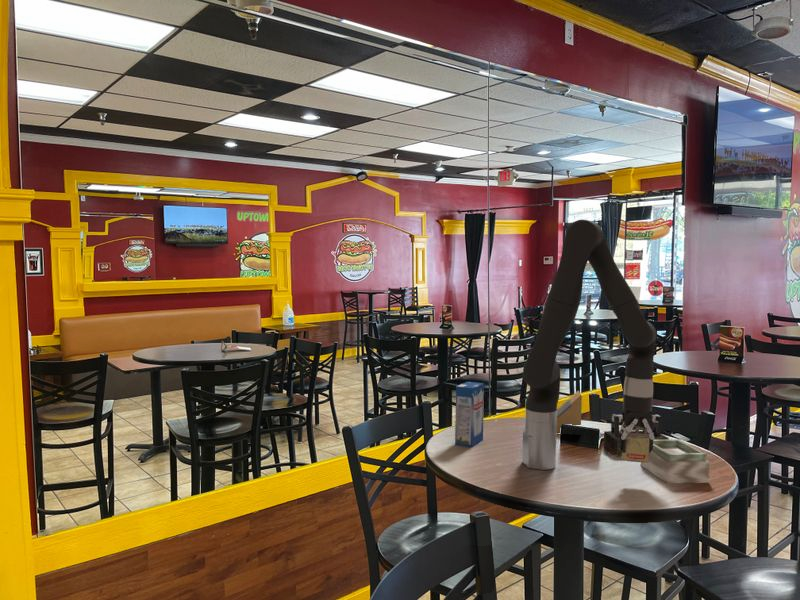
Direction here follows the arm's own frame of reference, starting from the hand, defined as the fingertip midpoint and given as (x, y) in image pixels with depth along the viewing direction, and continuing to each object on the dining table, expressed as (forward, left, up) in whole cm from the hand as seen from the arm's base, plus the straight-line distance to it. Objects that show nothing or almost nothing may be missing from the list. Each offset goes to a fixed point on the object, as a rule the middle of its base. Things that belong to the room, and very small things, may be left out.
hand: (634, 451), depth 156 cm
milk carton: (-39, +40, -9) cm, 56 cm away
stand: (+15, +7, -9) cm, 19 cm away
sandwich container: (-3, +52, -9) cm, 53 cm away
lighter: (0, 0, -3) cm, 3 cm away
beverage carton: (+14, +27, -9) cm, 32 cm away
